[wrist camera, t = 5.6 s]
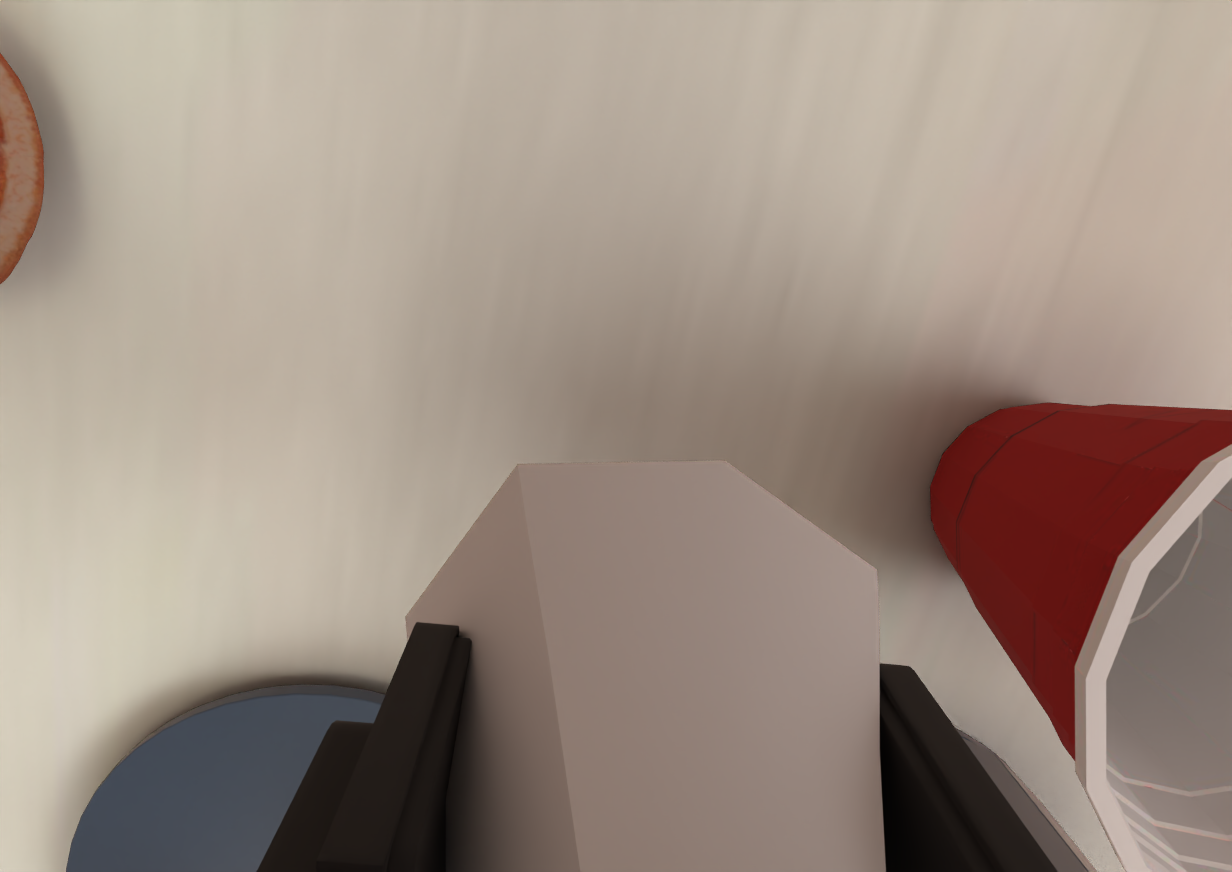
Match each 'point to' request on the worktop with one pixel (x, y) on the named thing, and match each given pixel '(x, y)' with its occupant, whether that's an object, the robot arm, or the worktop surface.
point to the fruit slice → (17, 170)
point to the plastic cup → (1112, 603)
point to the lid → (212, 782)
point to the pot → (1031, 812)
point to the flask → (660, 678)
